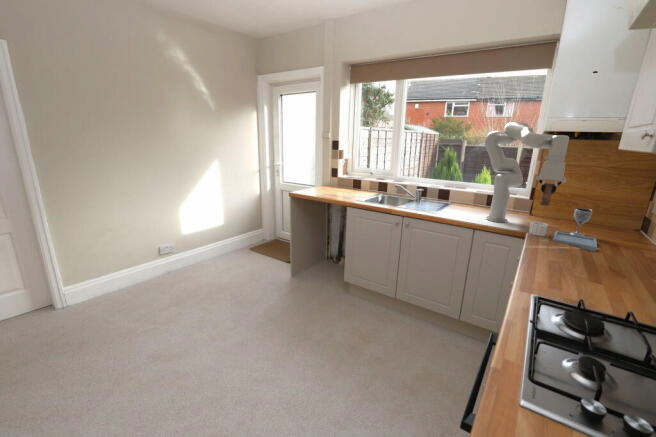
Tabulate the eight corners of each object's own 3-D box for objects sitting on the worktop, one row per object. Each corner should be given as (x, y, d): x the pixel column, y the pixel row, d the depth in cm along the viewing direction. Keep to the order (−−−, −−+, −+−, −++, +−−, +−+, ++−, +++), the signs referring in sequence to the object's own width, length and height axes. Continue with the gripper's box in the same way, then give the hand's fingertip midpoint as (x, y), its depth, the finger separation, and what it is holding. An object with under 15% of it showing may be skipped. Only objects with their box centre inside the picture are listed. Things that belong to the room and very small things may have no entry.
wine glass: (570, 234, 178) (576, 210, 173) (567, 231, 184) (573, 207, 180) (587, 237, 174) (594, 212, 170) (583, 233, 181) (590, 209, 177)
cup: (525, 232, 179) (528, 221, 177) (538, 233, 179) (541, 221, 177) (534, 237, 171) (537, 225, 169) (548, 237, 171) (551, 225, 169)
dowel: (538, 204, 172) (543, 183, 168) (545, 204, 172) (550, 183, 168) (543, 205, 168) (548, 184, 164) (550, 205, 168) (555, 184, 164)
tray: (552, 242, 163) (553, 238, 163) (554, 234, 177) (555, 231, 176) (595, 251, 152) (597, 247, 152) (595, 242, 166) (596, 238, 165)
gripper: (536, 158, 165) (529, 191, 170) (575, 160, 155) (566, 195, 160) (537, 157, 171) (530, 189, 176) (575, 159, 160) (566, 193, 165)
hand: (547, 192), depth 168 cm, fingers closed on dowel, 4 cm apart
